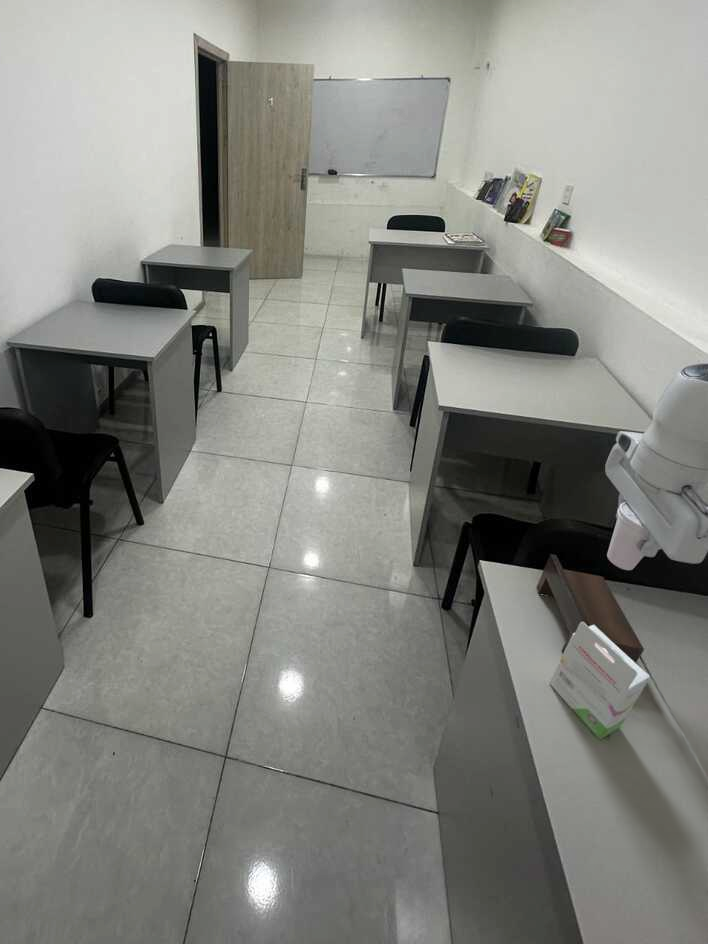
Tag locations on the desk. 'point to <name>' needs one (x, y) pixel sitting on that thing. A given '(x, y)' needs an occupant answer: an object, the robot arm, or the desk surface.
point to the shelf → (588, 605)
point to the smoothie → (627, 539)
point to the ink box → (598, 680)
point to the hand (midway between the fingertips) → (633, 536)
